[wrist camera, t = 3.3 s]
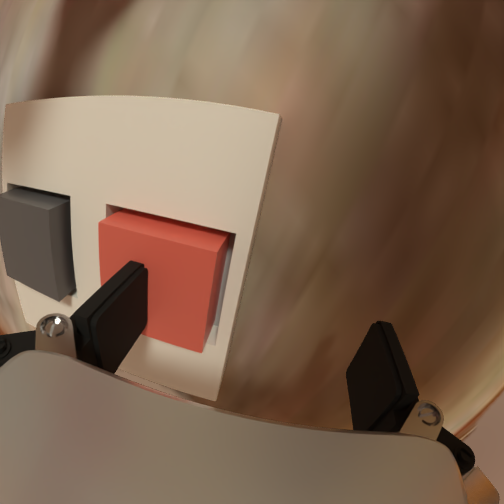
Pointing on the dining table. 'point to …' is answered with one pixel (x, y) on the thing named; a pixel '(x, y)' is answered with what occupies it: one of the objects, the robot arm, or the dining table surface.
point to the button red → (169, 271)
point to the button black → (38, 240)
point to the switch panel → (147, 198)
